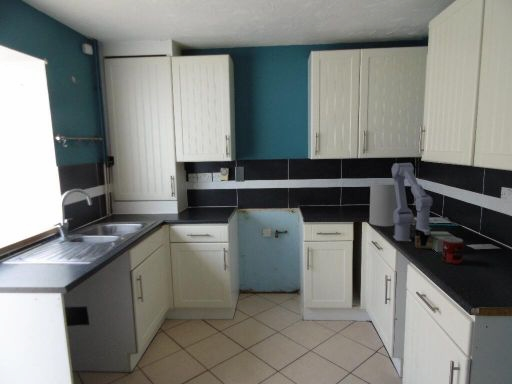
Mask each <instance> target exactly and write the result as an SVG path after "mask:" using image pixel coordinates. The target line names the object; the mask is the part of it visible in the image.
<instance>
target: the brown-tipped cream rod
mask: <svg viewBox="0 0 512 384" xmlns="http://www.w3.org/2000/svg"><path fill="white" fill-rule="evenodd" d="M415 247H416V248H415ZM414 248H415V249H433V237H432V236H430V237H429V238H428V240H427V243H426V246H421V244H420V237H419V236H416V235H415V236H414Z"/></svg>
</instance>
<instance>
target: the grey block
mask: <svg viewBox="0 0 512 384" xmlns="http://www.w3.org/2000/svg"><path fill="white" fill-rule="evenodd" d="M430 234H431V235H430V236H432V237H433V248H432V250H433V249H434V250H435V251H436V252H443V238H444V237H456V236H455V235H453V234H451V233H449V232H448V231H430ZM434 250H433V251H434ZM435 251H434V252H435ZM436 252H435V253H436Z"/></svg>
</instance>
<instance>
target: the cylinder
mask: <svg viewBox="0 0 512 384" xmlns="http://www.w3.org/2000/svg"><path fill="white" fill-rule="evenodd" d="M369 185H370V187H369V188H370V190H369V191H370V193H369V194H370V195H369V224H371V225H373V226H378V227H392V226H393V227H395V225H396V224H395V223H394V221H393V215H394V213H393V212H394V211H395V210H396V209H397V200H396V192H395V184H394V182H384V183H383V182H374V183H373V182H370V184H369Z"/></svg>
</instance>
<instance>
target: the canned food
mask: <svg viewBox="0 0 512 384" xmlns="http://www.w3.org/2000/svg"><path fill="white" fill-rule="evenodd" d="M463 248H464V240H463V239H462V238H460V237H456V236H455V237H444V238H443V252H442V253H441V254H442V256H441V259H442V261H443V260H444V261H446V262H449V263H455V264H458V265H460V264H459V263H461V264H462V262H463V251H464V249H463Z"/></svg>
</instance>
